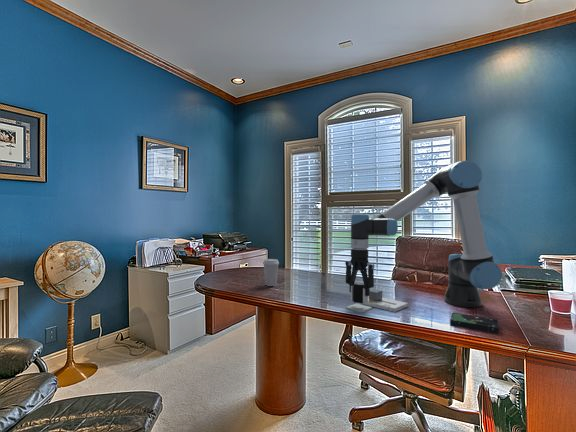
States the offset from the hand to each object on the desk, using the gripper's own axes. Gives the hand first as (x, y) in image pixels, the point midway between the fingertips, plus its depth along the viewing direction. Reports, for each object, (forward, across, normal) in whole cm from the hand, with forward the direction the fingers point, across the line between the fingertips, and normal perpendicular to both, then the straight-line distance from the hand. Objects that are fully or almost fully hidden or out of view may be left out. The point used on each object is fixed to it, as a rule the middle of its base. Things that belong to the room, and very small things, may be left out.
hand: (359, 301), depth 129 cm
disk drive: (+4, +40, +14) cm, 43 cm away
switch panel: (+3, +4, +13) cm, 14 cm away
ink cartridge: (+1, 0, 0) cm, 1 cm away
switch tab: (+1, 0, +13) cm, 13 cm away
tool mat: (+3, 0, 0) cm, 3 cm away
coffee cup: (+3, -59, -1) cm, 59 cm away
